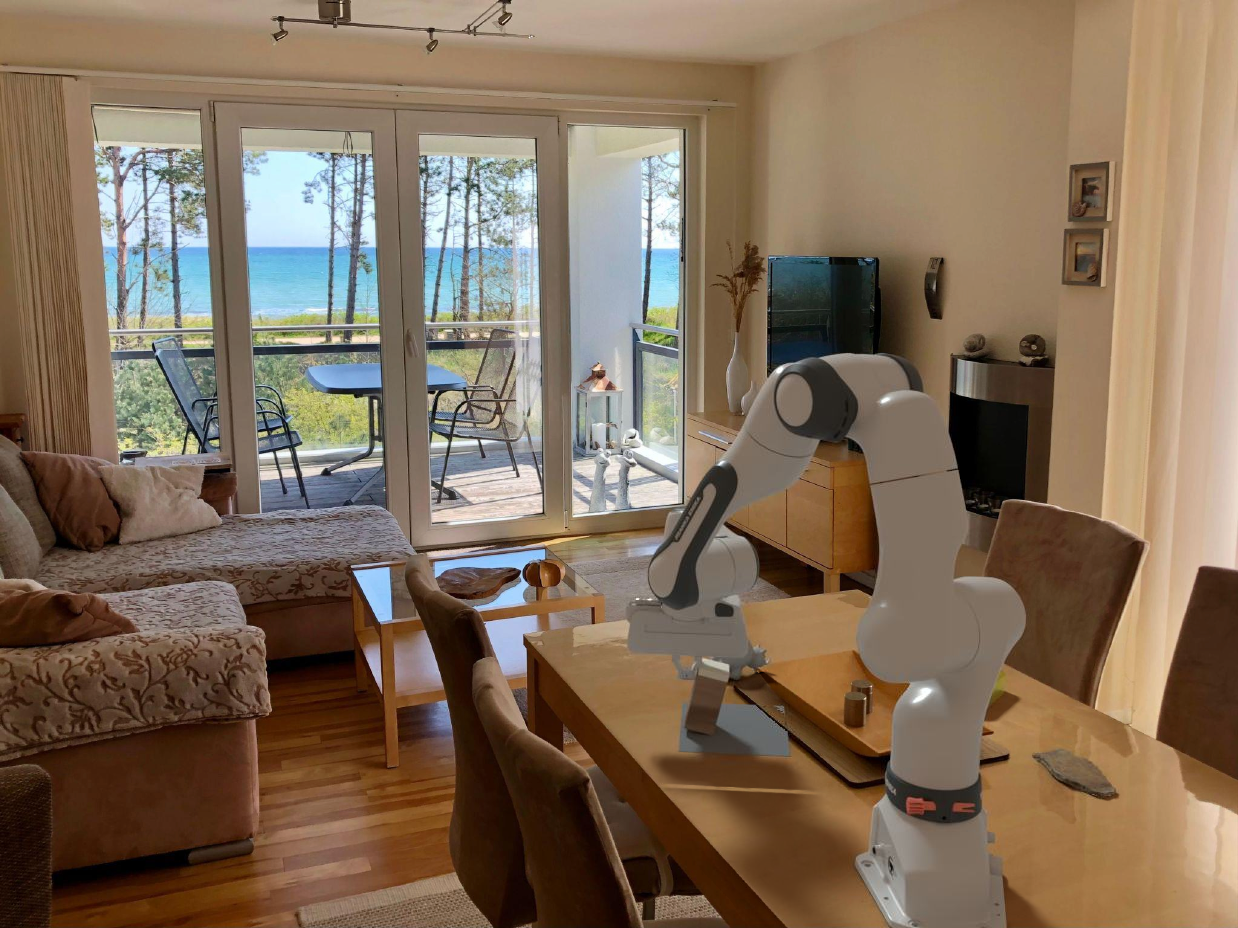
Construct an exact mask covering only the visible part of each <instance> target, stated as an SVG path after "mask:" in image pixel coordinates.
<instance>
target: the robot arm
mask: <svg viewBox="0 0 1238 928" xmlns="http://www.w3.org/2000/svg"><path fill="white" fill-rule="evenodd" d="M845 438H849V439H851V440H852V441H854V442H855V443H856V444H858V445H859V447H860V448H861V449H862V452H863V455H864V459H865V462H866V468H867V469H866V470H867V474H868V475H867V476H868V483H869V486H870V491H871V497H872V502H873V503H872V504H873V510H874V514H875V519H876V520H875V521H876V528H877V534H878V544H879V545H878V546H879V547H878V549H879V556H878V566H877V574H876V581H875V585H874V589H873V594H872V596H871V599H870V602H869V604H868V605H867V608H866V609H865V611H864V613H863V614H862V615H861V616H860V619H859V621H858V623H857V625H856V627H857V628H856V634H855V637H856V638H855V639H856V646H857V647H856V648H857V650H858V655H859V656H860V659H861V660H862V663H863V664H864V666H865V667H866V668H867V670H868V671H869V672H870V673H871V674H872V675H874V677H876V678H877V679H879V680H881V681H883V682H886V683H889V684H902V683H910V685H909V687H908V688H907V690H906V691H905V692H904V693H903V695H902V694H901V696H900V697H899V698H898V700H897V702H896V704H895V706H894V709H893V713H892V726H891V742H890V743H891V745H890V760H889V761H887V765H886V771H885V775H884V783H885V784H884V785H885V786H884V787H885V790H884V791H885V795H883V797H882V798H881V799H880V800H879V801H878V802H877V803H875V805H874V806H873V807H872V812H871V823H870V834H869V842H868V851H865V852H863V853H860V854H858V855H857V856H856V858H855V863H854V867H855V868H856V871H857V872H858V874H859V875H860V877H861V878H862V880H863V882H864V884H865V886H866V888H867V889H868V891H869V893H870V894H871V896H872V898H873V899H874V902H875V903H876V905H877V907H878V908H879V910H880V912H881V914H882V915H883V917H884V919H885V921H886V922H887V924H888V926H889V927H890V928H1007V927H1008V926H1007V915H1006V914H1007V913H1006V904H1005V893H1004V892H1005V891H1004V881H1003V866H1004V865H1003V862H1004V861H1003V857H1002V856H1001V855H994V853H989V846H988V844H995V843H996V832H993V831H988V829H987V828H988V818H989V817H988V816H989V812H988V811H987V810H986V808H984V807H983V797H984V795H983V791H984V789H983V784H982V783H983V782H982V774H981V772H980V763H981V762H980V760H981V752H982V751H981V749H982V739H983V730H984V729H983V728H984V722H985V718H986V713H987V709H988V708H989V707H988V704H989V701H990V698H991V695H992V692H993V689H994V687H995V684H996V681H997V678H998V676H999V673H1000V671H1001V670H1002V668H1003V666H1004V663H1005V661H1006V659H1007V657H1008V655H1009V654H1010V652H1011V651H1012V649H1013V648H1014V646H1015V645H1016V644H1017V642H1018V641H1019V640H1020V639H1021V638H1022V636H1023V633H1024V631H1025V628H1026V623H1027V615H1026V610H1025V605H1024V603H1023V601H1022V598H1021V597H1020V595H1019V593H1018V592H1017V591H1016V590H1015V588H1014V587H1012V585H1010V584H1009V583H1007V582H1006V581H1005V580H1002V579H999V578H996V577H990V576H968V575H967V576H962V577H961V576H960V577H957V578H955V577H954V576H955V566H956V561H957V557H958V553H959V551H960V549H961V547H962V545H963V544H964V542H965V541H966V539H967V536H968V534H969V528H970V525H969V524H970V523H969V519H968V513H967V509H966V504H965V503H966V502H965V499H964V493H963V488H962V483H961V479H960V473H959V469H958V468H959V467H958V463H957V459H956V454H955V450H954V447H953V443H952V439H951V436H950V433H949V429H948V427H947V425H946V423H945V420H944V416H943V415H942V411H941V410H940V408H939V405H938V404H937V402H936V401H935V399H934V398H933V397H932V396H930V395H928V394H927V393H924V383H923V380H922V377H921V374H920V372H919V371H918V369H917V367H916V366H915V365H914V364H913V363H912V362H911V361H909V360H908V359H906V358H904V357H902V356H899V355H895V354H891V353H890V354H889V353H884V352H883V353H882V352H881V353H875V354H868V353H867V354H866V353H859V354H858V353H856V354H855V353H853V352H852V353H851V352H849V353H848V352H846V353H837V354H836V353H835V354H830V355H825V356H824V355H823V356H821V357H815V356H814V357H807V358H804V359H801V360H798V361H795V362H788V363H785V364H782V365H779V366H778V367H776V368H775V369H774V370H773V371H772V372H771V373H770V374H769V376H768V377H767V379H766V381H765V382H764V384H763V385H762V387H761V388H760V390H759V391H758V393H757V395H756V397H755V398H754V400H753V402H752V404H751V406H750V409H749V411H748V413H747V415H746V417H745V420H744V423H743V424H742V427H741V428H740V430H739V432H738V434H737V435H736V437H735V439H734V440H733V442H732V443H731V445H730V446H729V447H728V448H727V450H726V451H725V453H723V455H722V456H721V457H720V458H719V459H718V460H717V461H716V462H715V463H714V464H713V466H711V468H709V469H708V471H707V472H706V473H705V475H704V476H703V477H702V479H701V480H700V482H699V484H697V487H696V488H695V490H694V491H693V494H692V496H691V498H690V499H689V501H688V503H687V505H686V506H682V507H681V506H680V507H676V508H674V509H672V510H670V511H669V512H668V515H667V516H666V520H665V525H664V533H663V542H662V543H661V544H660V545H659V546H658V547H657V549H656V550H655V552H654V553H653V555H652V557H651V559H650V562H649V565H648V569H647V582H648V586H649V588H650V591H651V593H653V595H654V597H655V598H649V599H647V598H639V597H638V598H635V599H634V600H632V601H630V602H628V604H627V605H626V607H625V619H626V621H627V622H628V623H629V627H628V633H627V642H626V643H627V644H626V645H627V646H626V648H627V649H628V651H629V652H630V653H631V654H635V655H636V654H639V655H658V656H659V655H661V656H665V655H667V656H671V662H672V663H673V665H674V667H675V668H676V670H677V680H680V681H681V680H683V681H684V680H685V681H694V680H695V676H696V672H697V669H698V668H699V666H700V665H701V663H702V658H703V657H707V658H708V657H709V658H710V657H733V658H743V657H744V656H745V655H746V654H747V653H748V639H749V638H748V637H749V636H748V630H747V624H746V623H747V622H746V618H745V615H744V613H743V612H742V609H743V608H742V607H743V604H742V599H741V597H740V596H739V595H740V594H743V593H746V592H749V591H750V590H752V589H753V588H754V586H755V585H756V583H757V580H758V578H759V574H760V559H759V555H758V551H757V549H756V548H755V546H754V545H753V544H752V543H751V541H749V539H748V538H746V537H745V536H741V535H738V534H736V533H735V532H733V531H732V530H731V529H729V528H728V527H727V526H726V525H724V524H725V523H726V521H727V520H728V519H730V517H731V516H733V515H734V514H736V513H737V512H738V511H740V510H742V509H743V508H746V507H747V506H750V505H751V504H753V503H757V502H758V501H761V500H763V499H767V498H769V497H772V496H774V495H777V494H780V493H781V492H784V491H785V490H788V489H790V488H791V487H792V486H794V485H795V484H797V482H798V480H800V478H801V477H802V476H803V474H804V473H805V472H806V470H807V469H808V467H809V465H810V464H811V461H812V459H813V457H814V455H815V453H816V450H817V448H818V445H819V443H820V441H826V442H831V443H837V444H838V443H839V444H840V443H841V442H842V441H843V440H844V439H845ZM893 480H894V481H893ZM875 483H876V484H875ZM954 578H955V579H954ZM681 656H686V657H687V656H690V657H693V662H694V663H693V664H692V666H683V665H682V663H681ZM987 707H988V708H987Z"/></svg>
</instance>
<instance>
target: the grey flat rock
mask: <svg viewBox="0 0 1238 928" xmlns="http://www.w3.org/2000/svg"><path fill="white" fill-rule="evenodd" d="M1031 756H1032V758H1033V759H1034V760H1036V761H1037V762H1038V763H1041V764H1042V765H1043V766H1044V767H1045V768H1046V769H1047V770H1048V772H1049V773H1050V775H1052V776H1053V777H1054V778H1055V779H1057V780H1058V781H1059V782H1060V781H1061V782H1062V783H1065V784H1067V785H1070V787H1071V786H1072V787H1073V788H1075V789H1077V790H1079V789H1080V791H1081V790H1082V792H1083V791H1084V793H1085V792H1088V793H1089V795H1091V794H1094V795H1097V796H1099V797H1098V798H1100V797H1103V798H1108V797H1107V796H1109V795H1110V797H1112V795H1113V796H1114V795H1117V788H1115V787H1114V786H1113V785H1112V783H1111V782H1109V780H1108V779H1107V777H1106V775H1104V774H1103V771H1102V770H1101V769H1100V768H1099V767H1098V766H1097V765H1095V764H1094V763H1093V761H1091V760H1089V759H1088V758H1086V757H1084V756H1083V757H1080V756H1076V755H1075V754H1073V753H1072V751H1070V750H1068V749H1064V748H1058V749H1053V750H1050V751H1046V752H1038V753H1037V752H1036V753H1035V752H1033V753H1032V755H1031ZM1088 793H1087V794H1088ZM1094 795H1093V796H1094ZM1097 796H1096V797H1097Z"/></svg>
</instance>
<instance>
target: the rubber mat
mask: <svg viewBox="0 0 1238 928" xmlns="http://www.w3.org/2000/svg"><path fill="white" fill-rule="evenodd" d="M688 702H689V701H688ZM688 702H686V701H683V702H682V707H681V709H682V710H681V720H680V731H679V743H678V753H698V754H699V753H702V754H719V755H720V754H723V755H745V756H764V757H766V756H767V757H768V756H769V757H792V756H791V749H790V748H791V747H790V742H789V735H788V734H789V733H788V730H787V731H785V729H783V728H782V727H780V726H779V725H778V724H777V723H775V721H773V720H772V719H771V718H769V717H768V716H767V715H766V714H765V713H764V712H763V711H762V710H760V709H759V708H758V707H757V706H756V705H757V704H738V703H722V705H721V708H720V712H719V716H718V719H717V723H716V726H715V730H714V734H713V736H712V735H708V734H704V733H701V732H697V731H693V730H689V729H685V728H684V721H685V714H686V710H687V706H688ZM773 706H774V707H777V708H779V709H777V710H780V711H783V712H781V713H784V714H785V715H784V716H785V717H786V713H785V706H784V705H773Z"/></svg>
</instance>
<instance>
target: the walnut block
mask: <svg viewBox="0 0 1238 928" xmlns="http://www.w3.org/2000/svg"><path fill="white" fill-rule="evenodd" d="M729 679H730V677H729V665H728V664H725V663H721V662H717V661H713V660H709V659H708V658H704V657H702V663H701V665H700V666H699V668H698V669H697V670H696V671H695V680H693V683H692V688H691V692H690V694H689V700H688V706H687V710H686V714H685V721H684V728H685V729H689V730H693V731H697V732H701V733H704V734H708V735H712V736H713V734H714V730H715V726H716V723H717V719H718V716H719V712H720V708H721V705H722V704H723V700H724V697H725V693H726V689H727V687H728V686H727V685H728V682H729Z"/></svg>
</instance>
